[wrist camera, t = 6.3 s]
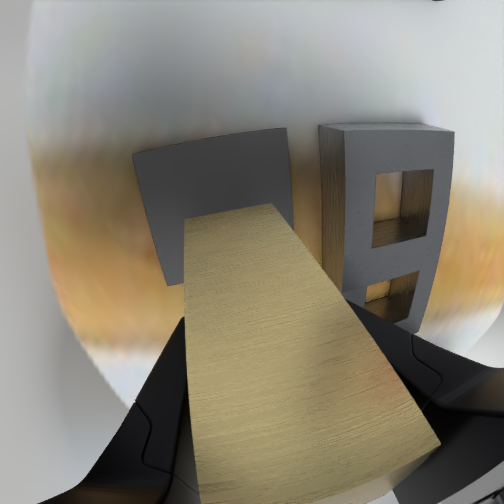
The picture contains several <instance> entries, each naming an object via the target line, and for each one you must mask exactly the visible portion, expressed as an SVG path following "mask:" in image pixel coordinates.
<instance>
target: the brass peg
mask: <svg viewBox="0 0 504 504" xmlns="http://www.w3.org/2000/svg"><path fill="white" fill-rule="evenodd" d="M184 310H185V340H186V361H187V378H188V392H189V405H190V416H191V427H192V437H193V446H194V455H195V463H196V471H197V479H198V486H199V493H200V499H201V504H366V503H368V502H371V501H373V500H375V499H377V498H380V497H382V496H384V495H385V494H387V493H388V492H389V491H391V490H392V489H393V488H394V487H396V486H397V485H398V484H399V483H400V482H402V481H403V480H404V479H405V478H406V477H407V476H409V475H410V474H411V473H412V472H413V471H414V470H415V469H416V468H418V467H419V466H420V465H421V464H422V463H423V462H424V461H425V460H426V459H427V458H428V457H429V456H430V455H431V454H432V453H433V452H434V451H435V450H436V449H437V448H438V447H439V446H440V445H441V443H440V441H439V439H438V438H437V436H436V434H435V433H434V431H433V429H432V428H431V426H430V425H429V423H428V421H427V420H426V418H425V417H424V415H423V413H422V412H421V410H420V409H419V407H418V406H417V404H416V402H415V401H414V399H413V398H412V396H411V395H410V393H409V392H408V390H407V389H406V387H405V386H404V384H403V382H402V381H401V379H400V378H399V376H398V375H397V373H396V372H395V370H394V369H393V367H392V366H391V364H390V363H389V362H388V360H387V359H386V357H385V356H384V354H383V353H382V351H381V350H380V348H379V347H378V345H377V344H376V343H375V341H374V340H373V338H372V337H371V335H370V334H369V332H368V331H367V330H366V328H365V327H364V325H363V324H362V323H361V321H360V320H359V318H358V317H357V315H356V314H355V313H354V311H353V310H352V308H351V307H350V306H349V304H348V303H347V302H346V300H345V299H344V297H343V296H342V295H341V293H340V292H339V291H338V289H337V288H336V286H335V285H334V284H333V282H332V281H331V280H330V278H329V277H328V276H327V274H326V273H325V272H324V270H323V269H322V268H321V266H320V265H319V264H318V262H317V261H316V260H315V258H314V257H313V256H312V254H311V253H310V252H309V250H308V249H307V248H306V246H305V245H304V244H303V243H302V241H301V240H300V239H299V237H298V236H297V235H296V234H295V232H294V231H293V230H292V228H291V227H290V226H289V225H288V223H287V222H286V221H285V219H284V218H283V217H282V216H281V214H280V213H279V212H278V211H277V209H276V208H275V207H274V206H273V204H272V203H269V204H263V205H257V206H252V207H246V208H241V209H235V210H230V211H224V212H219V213H214V214H209V215H204V216H199V217H193V218H189V219H185V224H184Z"/></svg>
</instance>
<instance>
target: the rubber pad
mask: <svg viewBox="0 0 504 504" xmlns="http://www.w3.org/2000/svg"><path fill="white" fill-rule="evenodd" d="M132 157H133V162H134V166H135V171H136V175H137V179H138V183H139V188H140V192H141V196H142V200H143V204H144V208H145V212H146V215H147V219H148V223H149V226H150V230H151V234H152V237H153V241H154V244H155V248H156V251H157V254H158V258H159V261H160V264H161V268H162V271H163V274H164V277H165V280H166V283H167V286H171V285H176V284H181V283H184V224H185V219H189V218H193V217H199V216H204V215H209V214H214V213H219V212H224V211H230V210H235V209H241V208H246V207H252V206H257V205H263V204H269V203H272V204H273V206H274V207H275V208H276V209H277V211H278V212H279V213H280V214H281V216H282V217H283V218H284V219H285V221H286V222H287V223H288V225H289V226H290V227H291V228H292V230H293V231H294V223H293V206H292V192H291V178H290V165H289V153H288V141H287V130H286V128H277V129H268V130H259V131H251V132H244V133H237V134H230V135H224V136H218V137H212V138H206V139H201V140H195V141H190V142H185V143H180V144H175V145H170V146H166V147H161V148H157V149H152V150H148V151H144V152H140V153H136V154H133V155H132Z"/></svg>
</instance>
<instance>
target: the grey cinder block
mask: <svg viewBox="0 0 504 504" xmlns="http://www.w3.org/2000/svg"><path fill="white" fill-rule="evenodd" d="M318 127H319V142H320V161H321V185H322V269H323V270H324V272H325V273H326V274H327V276H328V277H329V278H330V280H331V281H332V282H333V284H334V285H335V286H336V288H337V289H338V291H339V292H340V293H341V295H342V296H343V297H344V298H345V299H347V300H349V301H351V302H353V303H355V304H357V305H359V306H361V307H362V308H364V309H366V310H368V311H370V312H372V313H374V314H376V315H378V316H380V317H382V318H384V319H385V320H387V321H389V322H391V323H393V324H395V325H397V326H399V327H401V328H403V329H405V330H407V331H408V332H410V333H411V334H415V333H417V332H418V331H419V328H420V325H421V322H422V319H423V316H424V313H425V309H426V306H427V303H428V299H429V296H430V292H431V288H432V285H433V281H434V277H435V273H436V269H437V264H438V260H439V255H440V251H441V246H442V241H443V236H444V230H445V224H446V218H447V212H448V205H449V197H450V189H451V180H452V169H453V155H454V131H450V130H446V129H442V128H438V127H434V126H430V125H426V124H412V123H347V124H325V125H318ZM401 171H403V187H402V201H401V212H400V218H396V219H391V220H386V221H381V222H375V223H373V221H374V204H375V176H376V174H380V173H390V172H401ZM390 279H392V280H391V285H390V291H389V296H387V297H384V298H381V299H378V300H374V301H371V302H368V303H365V298H366V291H367V286H369V285H373V284H376V283H379V282H383V281H386V280H390Z"/></svg>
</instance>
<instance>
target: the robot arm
mask: <svg viewBox="0 0 504 504" xmlns="http://www.w3.org/2000/svg"><path fill="white" fill-rule="evenodd" d="M344 299H345V298H344ZM345 300H346V302H347V303H348V304H349V306H350V307H351V308H352V310H353V311H354V313H355V314H356V315H357V317H358V318H359V320H360V321H361V323H362V324H363V325H364V327H365V328H366V330H367V331H368V332H369V334H370V335H371V337H372V338H373V340H374V341H375V343H376V344H377V345H378V347H379V348H380V350H381V351H382V353H383V354H384V356H385V357H386V359H387V360H388V362H389V363H390V364H391V366H392V367H393V369H394V370H395V372H396V373H397V375H398V376H399V378H400V379H401V381H402V382H403V384H404V386H405V387H406V389H407V390H408V392H409V393H410V395H411V396H412V398H413V399H414V401H415V402H416V404H417V406H418V407H419V409H420V410H421V412H422V413H423V415H424V417H425V418H426V420H427V421H428V423H429V425H430V426H431V428H432V429H433V431H434V433H435V434H436V436H437V438H438V439H439V441H440V443H441V445H440V446H439V447H438V448H437V449H436V450H435V451H434V452H433V453H432V454H431V455H430V456H429V457H428V458H427V459H426V460H425V461H424V462H423V463H422V464H421V465H420V466H419V467H418V468H416V469H415V470H414V471H413V472H412V473H411V474H410V475H409V476H407V477H406V478H405V479H404V480H403V481H402V482H400V483H399V484H398V485H397V486H396V487H394V488H393V489H392V490H393V492H394V494H395V496H396V498H397V500H398V502H399V504H437V503H439V502H441V503H442V504H504V368H493V367H489V366H486V365H483V364H480V363H478V362H475V361H472V360H470V359H468V358H465V357H463V356H460V355H458V354H455V353H453V352H450V351H448V350H445V349H443V348H441V347H439V346H436V345H434V344H432V343H430V342H428V341H426V340H424V339H422V338H420V337H418V336H416V335H414V334H411V333H410V332H408V331H407V330H405V329H403V328H401V327H399V326H397V325H395V324H393V323H391V322H389V321H387V320H385V319H384V318H382V317H380V316H378V315H376V314H374V313H372V312H370V311H368V310H366V309H364V308H362V307H361V306H359V305H357V304H355V303H353V302H351V301H349V300H347V299H345ZM135 402H136V403H133V405H132V407H131V409H130V410H129V413H128V414H127V416H126V417H125V419H124V421H123V423H122V424H121V426H120V428H119V429H118V431H117V432H116V434H115V435H114V437H113V438H112V440H111V442H110V443H109V444H108V446H107V447H106V449H105V450H104V451H103V453H102V454H101V456H100V457H99V459H98V460H97V461H96V463H95V464H94V466H93V467H92V469H91V470H90V471H89V473H88V474H87V475H86V477H85V478H84V479H83V480H82V481H81V482H80V483H79V484H78V485H76V486H75V487H73V488H72V489H70V490H68V491H66V492H64V493H61V494H59V495H57V496H55V497H53V498H50V499H48V500H45V501H43V502H41V503H38V504H201V499H200V493H199V486H198V479H197V471H196V463H195V455H194V446H193V437H192V427H191V416H190V405H189V392H188V378H187V361H186V340H185V316H184V317H182V318H181V319H180V321H179V323H178V325H177V326H176V328H175V330H174V332H173V333H172V335H171V337H170V339H169V340H168V342H167V344H166V346H165V347H164V349H163V351H162V353H161V355H160V356H159V358H158V360H157V362H156V363H155V365H154V367H153V369H152V371H151V372H150V374H149V376H148V378H147V380H146V381H145V383H144V385H143V387H142V389H141V390H140V392H139V394H138V396H137V398H136V400H135Z"/></svg>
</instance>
